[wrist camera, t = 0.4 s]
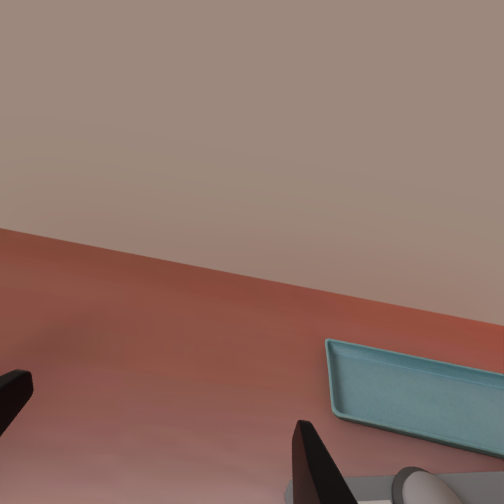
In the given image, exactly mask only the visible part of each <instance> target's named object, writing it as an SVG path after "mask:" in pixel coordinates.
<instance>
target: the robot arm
mask: <svg viewBox="0 0 504 504" xmlns="http://www.w3.org/2000/svg"><path fill="white" fill-rule="evenodd" d="M33 390H34V388H33V381H32V375H31V372H29V371H25V370H20V369H17V370H13V371H11V372H8V373H6V374H4V375H2V376H0V436H1V435H2V434H3V432H4V431H5V430H6V429H7V427H8V426H9V425H10V423H11V422H12V421H13V420H14V418H15V417H16V416H17V414H18V413H19V412H20V411H21V409H22V408H23V407H24V405H25V404H26V403H27V402H28V400H29V399H30V397H31V396H32V394H33ZM292 473H293V504H358V502H357V501H356V499H355V497H354V495H353V494H352V492H351V490H350V489H349V487H348V485H347V483H346V482H345V480H344V478H343V476H342V475H341V473H340V471H339V470H338V468H337V466H336V464H335V463H334V461H333V459H332V457H331V456H330V454H329V452H328V451H327V449H326V447H325V445H324V444H323V442H322V440H321V438H320V437H319V435H318V433H317V432H316V430H315V428H314V426H313V425H312V423H311V422H309V421H305V420H298V422H297V424H296V428H295V431H294V434H293V438H292Z"/></svg>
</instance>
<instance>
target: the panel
mask: <svg viewBox="0 0 504 504" xmlns="http://www.w3.org/2000/svg"><path fill="white" fill-rule="evenodd" d="M344 480H345V482H346V483H347V485H348V487H349V489H350V490H351V492H352V494H353V495H354V497H355V499H356V501H357V502H358V504H504V471H498V472H473V473H447V474H431V473H429V472H428V471H426V470H423V469H421V468H417V467H406V468H403V469H402V470H400V471H399V472H398V474H397V475H396V476H371V477H345V478H344ZM284 495H285V503H286V504H293V480H290V482H289V484H288V486H287V489H286V491H285V494H284Z"/></svg>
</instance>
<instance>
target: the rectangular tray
mask: <svg viewBox="0 0 504 504" xmlns="http://www.w3.org/2000/svg"><path fill="white" fill-rule="evenodd" d="M325 347H326V354H327V363H328V373H329V384H330V395H331V407H332V411H333V413H334V415H335V416H336V417H337V418H339V419H342V420H346V421H350V422H354V423H358V424H362V425H366V426H370V427H374V428H378V429H382V430H386V431H390V432H394V433H398V434H402V435H406V436H410V437H414V438H419V439H423V440H427V441H431V442H435V443H439V444H443V445H447V446H451V447H455V448H459V449H464V450H468V451H472V452H476V453H480V454H484V455H489V456H493V457H497V458H501V459H504V374H501V373H496V372H491V371H486V370H481V369H476V368H471V367H466V366H461V365H456V364H452V363H447V362H442V361H437V360H432V359H427V358H422V357H418V356H413V355H408V354H403V353H399V352H394V351H388V350H384V349H379V348H374V347H369V346H364V345H359V344H354V343H349V342H345V341H339V340H334V339H329V338H328V339H326V340H325Z"/></svg>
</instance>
